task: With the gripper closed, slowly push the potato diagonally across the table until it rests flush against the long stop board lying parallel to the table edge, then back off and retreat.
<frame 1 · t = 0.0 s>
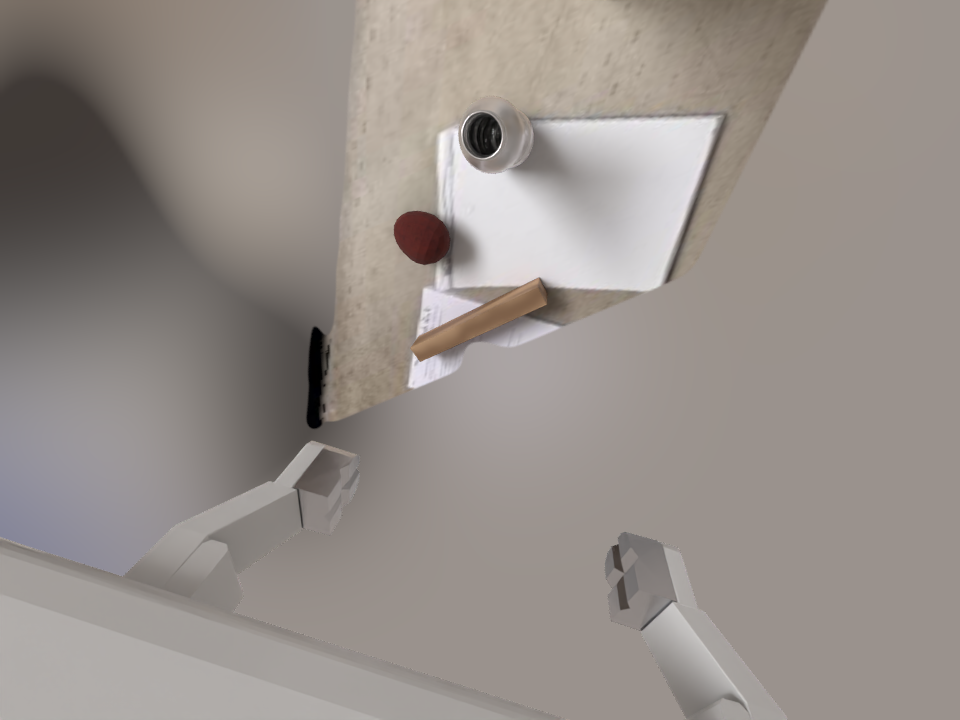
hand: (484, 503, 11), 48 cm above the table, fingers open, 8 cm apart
board: (478, 316, 61), on the table
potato: (428, 232, 55), on the table
plastic bottle: (509, 139, 47), on the table
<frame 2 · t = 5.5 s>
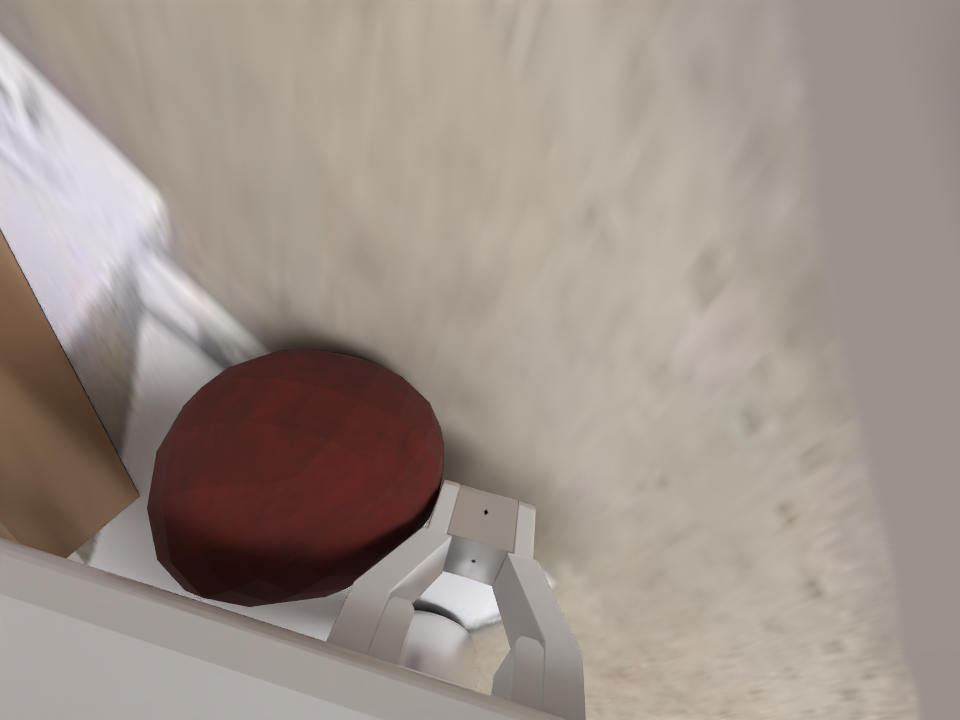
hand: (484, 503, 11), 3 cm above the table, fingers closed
board: (10, 304, 15), on the table
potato: (365, 397, 14), on the table, touching gripper
plastic bottle: (433, 618, 23), on the table
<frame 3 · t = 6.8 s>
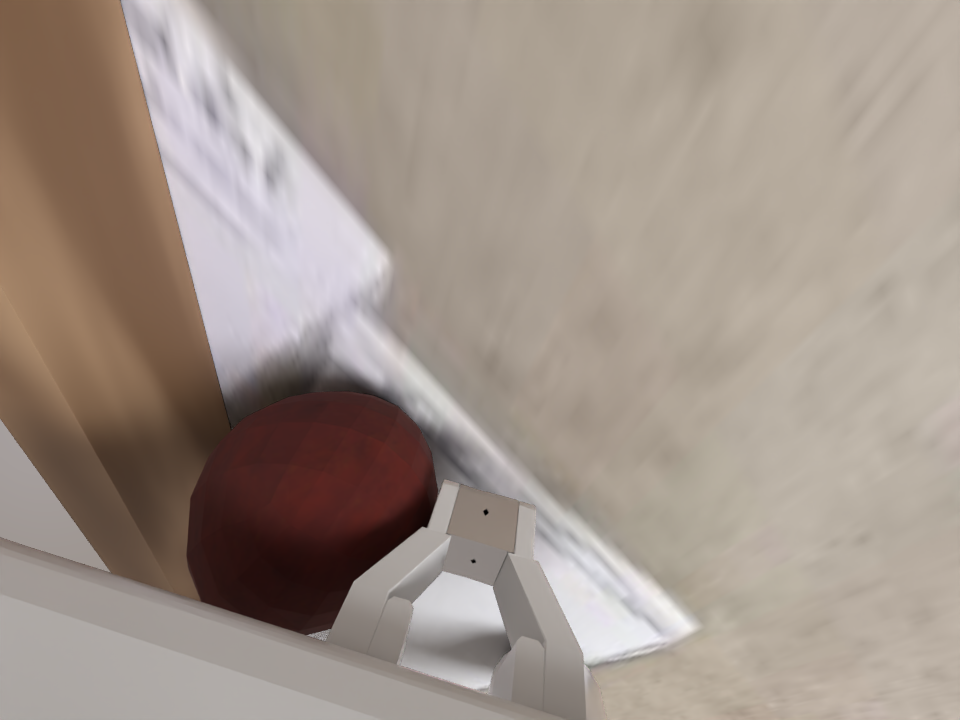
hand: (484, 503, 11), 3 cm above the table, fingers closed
board: (178, 352, 14), on the table
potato: (370, 428, 15), on the table, touching gripper
plastic bottle: (546, 653, 22), on the table
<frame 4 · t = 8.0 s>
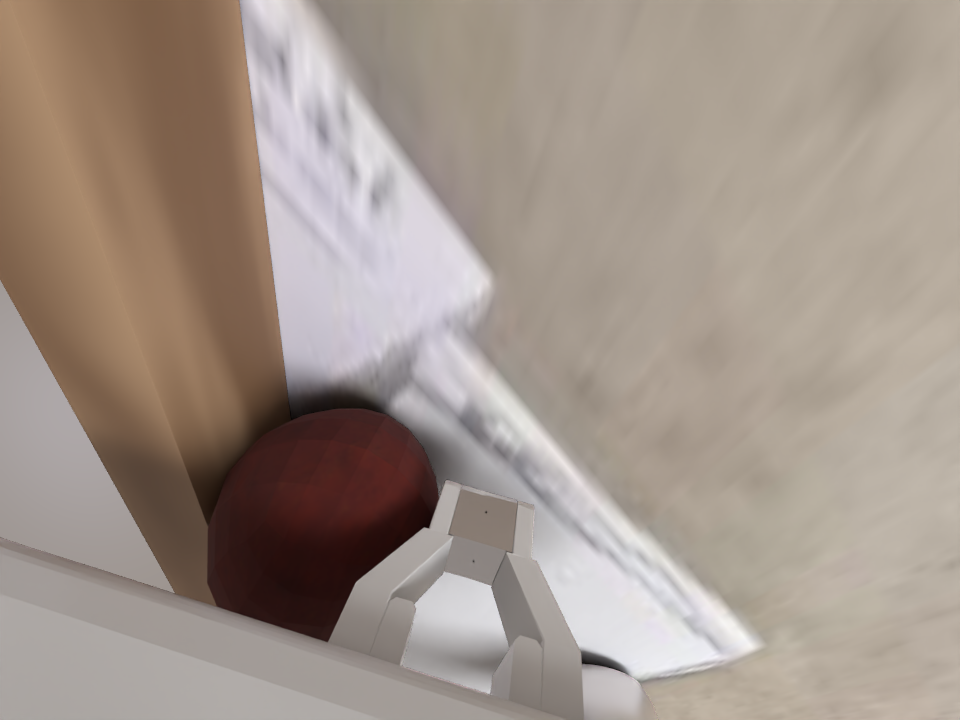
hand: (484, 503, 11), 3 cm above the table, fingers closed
board: (250, 370, 14), on the table
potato: (377, 443, 15), on the table, touching board, gripper
plastic bottle: (594, 668, 22), on the table
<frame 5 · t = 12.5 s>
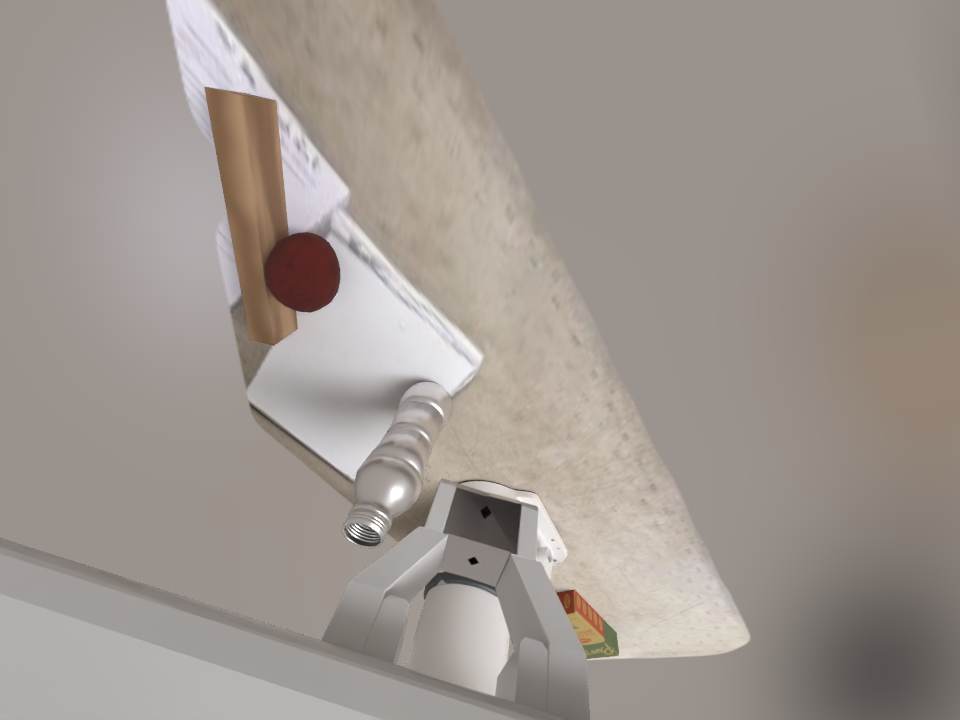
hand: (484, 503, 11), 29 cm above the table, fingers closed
board: (275, 230, 39), on the table
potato: (323, 262, 40), on the table, touching board
plastic bottle: (432, 394, 47), on the table
carton: (577, 612, 69), on the table
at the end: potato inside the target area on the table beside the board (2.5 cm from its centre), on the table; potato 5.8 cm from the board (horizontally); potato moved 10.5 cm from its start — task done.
